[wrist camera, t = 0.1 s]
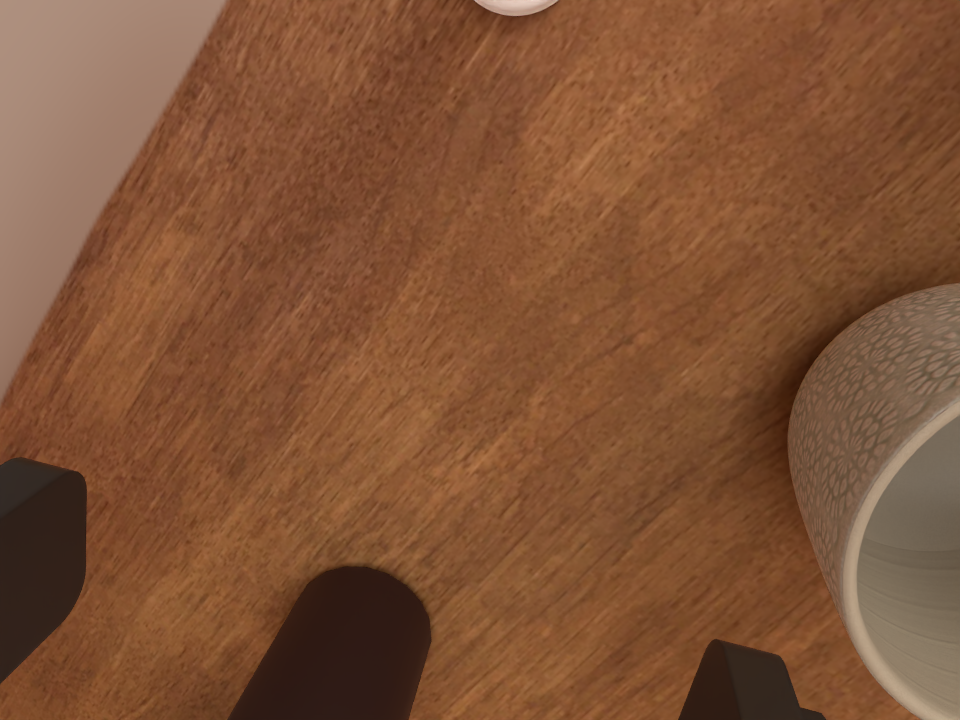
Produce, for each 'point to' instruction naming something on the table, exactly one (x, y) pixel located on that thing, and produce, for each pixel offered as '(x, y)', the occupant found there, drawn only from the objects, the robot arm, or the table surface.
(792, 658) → the table surface
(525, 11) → the chess piece
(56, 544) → the robot arm
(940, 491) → the planter
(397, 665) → the bottle
